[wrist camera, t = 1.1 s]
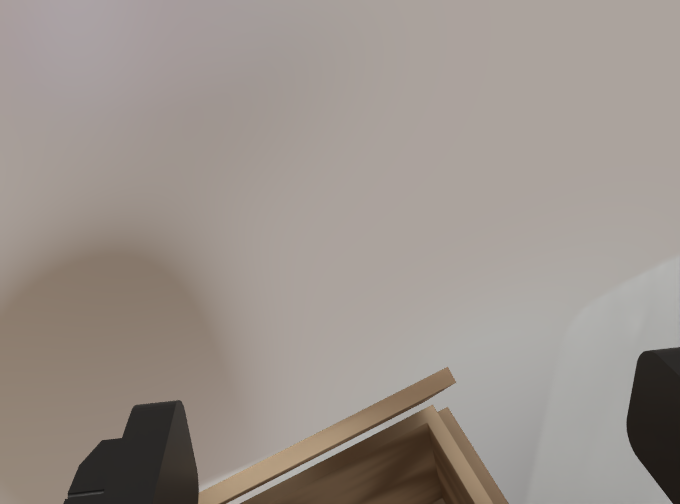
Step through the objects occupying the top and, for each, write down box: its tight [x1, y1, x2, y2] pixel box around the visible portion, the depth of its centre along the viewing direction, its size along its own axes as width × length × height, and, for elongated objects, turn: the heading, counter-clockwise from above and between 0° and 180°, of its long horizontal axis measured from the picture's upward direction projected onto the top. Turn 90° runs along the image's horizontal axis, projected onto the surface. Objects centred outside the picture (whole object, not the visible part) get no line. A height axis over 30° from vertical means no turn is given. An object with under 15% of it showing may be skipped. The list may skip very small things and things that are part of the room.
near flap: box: [198, 367, 456, 504], centre depth 20 cm, size 17×8×1 cm
